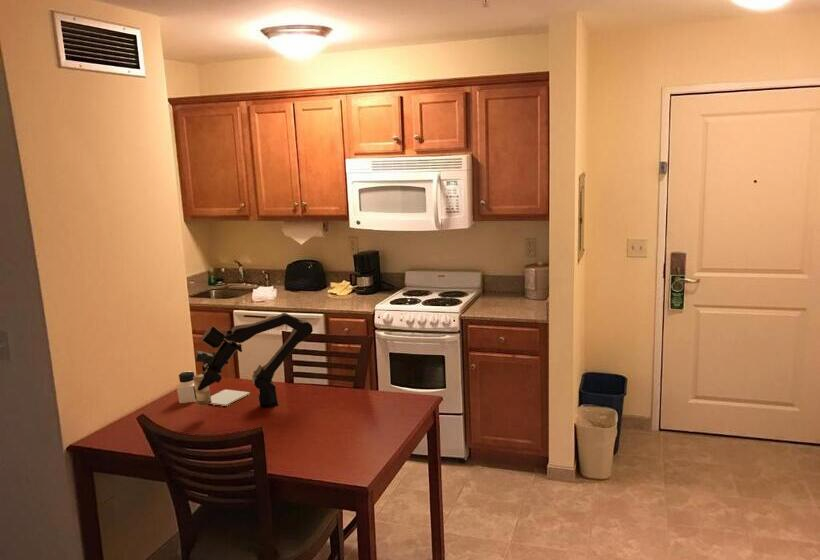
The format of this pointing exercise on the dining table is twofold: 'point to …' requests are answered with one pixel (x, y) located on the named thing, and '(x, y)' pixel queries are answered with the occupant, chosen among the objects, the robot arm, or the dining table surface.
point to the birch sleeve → (201, 391)
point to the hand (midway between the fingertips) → (198, 387)
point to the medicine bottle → (186, 387)
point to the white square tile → (227, 397)
